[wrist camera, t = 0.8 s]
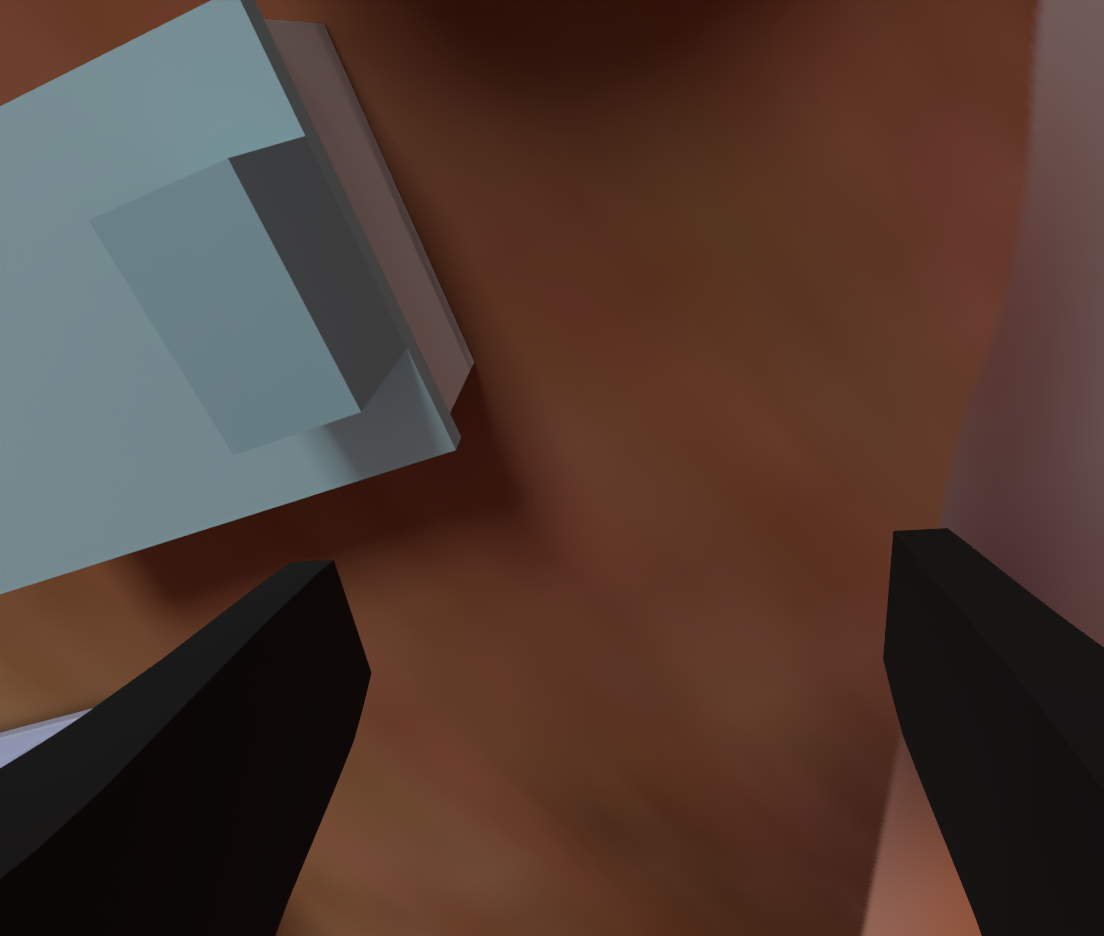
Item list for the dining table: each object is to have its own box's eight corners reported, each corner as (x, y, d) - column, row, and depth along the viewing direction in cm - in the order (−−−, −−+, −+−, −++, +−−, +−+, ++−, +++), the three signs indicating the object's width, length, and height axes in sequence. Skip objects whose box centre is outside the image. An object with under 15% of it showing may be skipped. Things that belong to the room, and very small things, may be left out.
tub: (95, 491, 23) (0, 572, 19) (-97, 223, 20) (-255, 263, 16) (474, 362, 20) (442, 429, 17) (324, 23, 17) (244, 18, 13)
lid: (20, 566, 20) (-123, 689, 16) (-239, 245, 17) (-499, 305, 13) (468, 421, 17) (422, 529, 13) (269, -7, 14) (130, -27, 10)
